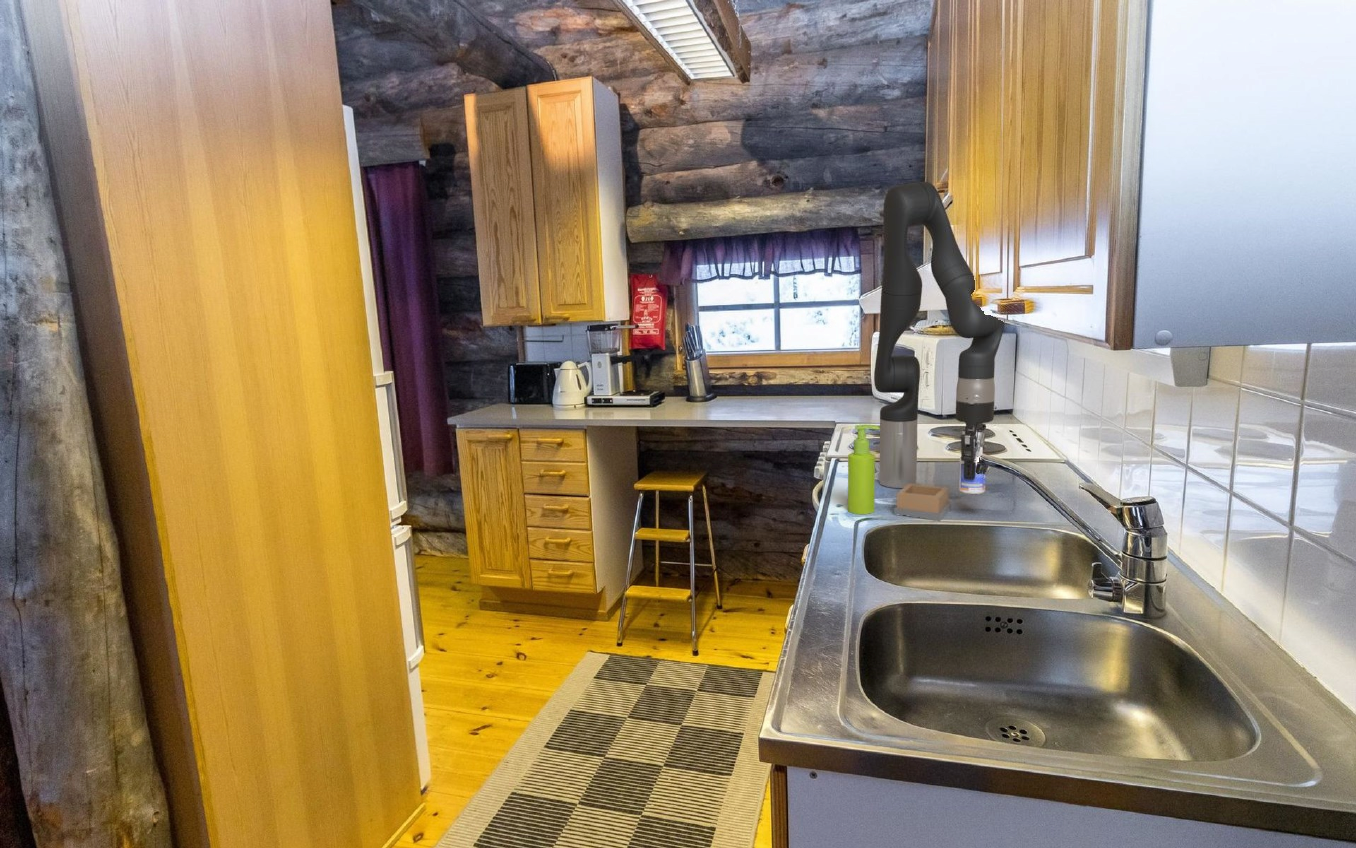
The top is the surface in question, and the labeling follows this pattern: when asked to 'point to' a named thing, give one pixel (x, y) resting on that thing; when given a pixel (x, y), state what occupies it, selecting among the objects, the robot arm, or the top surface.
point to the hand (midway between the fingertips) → (972, 475)
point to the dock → (923, 501)
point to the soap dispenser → (861, 474)
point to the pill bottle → (976, 484)
